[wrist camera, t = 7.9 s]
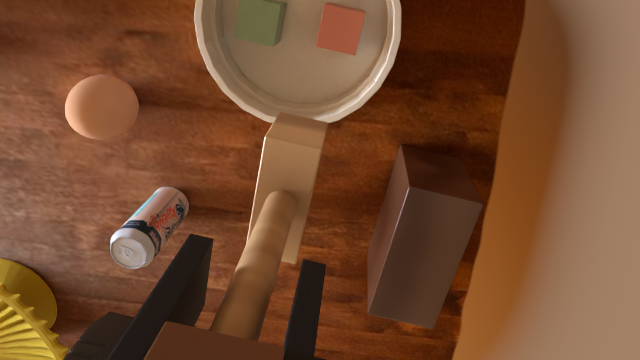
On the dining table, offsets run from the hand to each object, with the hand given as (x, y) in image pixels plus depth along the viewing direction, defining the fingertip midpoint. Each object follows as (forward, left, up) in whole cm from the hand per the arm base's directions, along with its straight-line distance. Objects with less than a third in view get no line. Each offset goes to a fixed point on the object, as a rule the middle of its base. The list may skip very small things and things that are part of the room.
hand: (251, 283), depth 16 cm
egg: (+23, +9, -39) cm, 46 cm away
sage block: (+8, -4, -38) cm, 39 cm away
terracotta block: (0, -5, -38) cm, 39 cm away
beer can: (+16, +21, -39) cm, 47 cm away
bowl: (+4, -4, -39) cm, 40 cm away
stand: (-13, +14, -39) cm, 43 cm away
